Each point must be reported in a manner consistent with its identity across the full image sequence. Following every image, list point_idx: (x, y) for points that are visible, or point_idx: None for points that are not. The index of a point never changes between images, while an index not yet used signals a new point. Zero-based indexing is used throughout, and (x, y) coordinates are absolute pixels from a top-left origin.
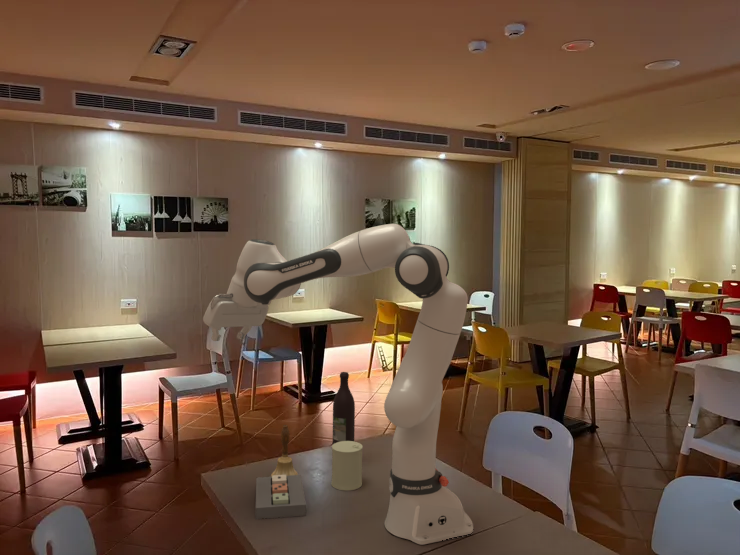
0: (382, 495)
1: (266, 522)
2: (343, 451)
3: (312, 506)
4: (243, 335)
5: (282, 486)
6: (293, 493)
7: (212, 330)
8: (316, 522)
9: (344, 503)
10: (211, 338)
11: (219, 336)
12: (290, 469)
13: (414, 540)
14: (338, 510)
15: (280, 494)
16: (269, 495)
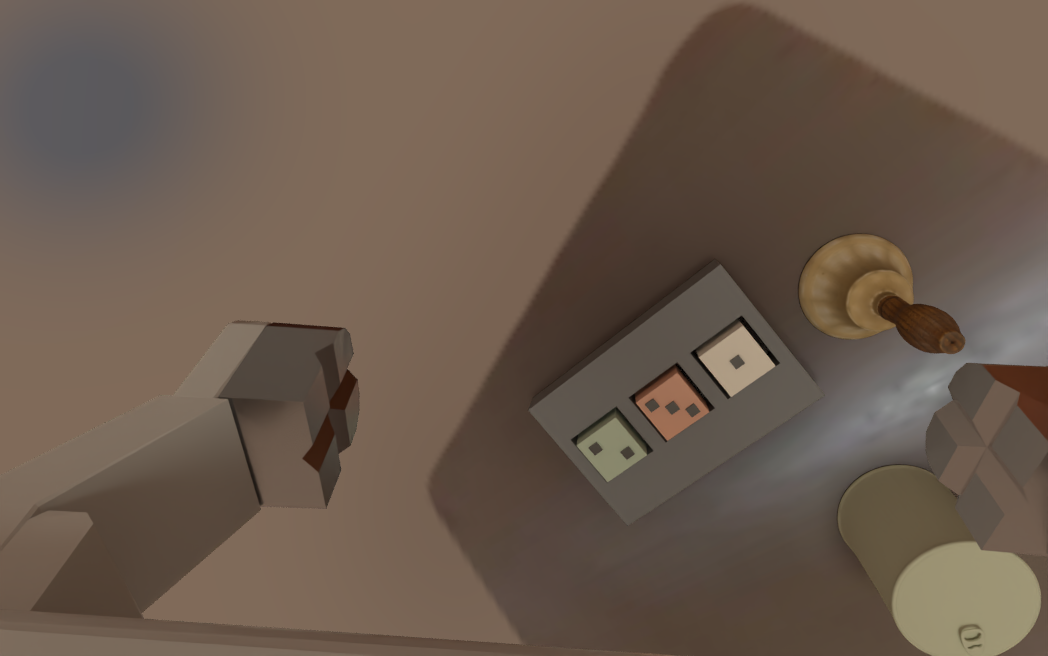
0: (862, 644)
1: (536, 434)
2: (898, 613)
3: (687, 496)
4: (1018, 534)
5: (679, 413)
6: (673, 454)
7: (74, 458)
8: (609, 551)
9: (753, 568)
10: (234, 328)
11: (294, 495)
12: (857, 327)
13: None
14: (703, 572)
15: (624, 441)
16: (621, 395)
